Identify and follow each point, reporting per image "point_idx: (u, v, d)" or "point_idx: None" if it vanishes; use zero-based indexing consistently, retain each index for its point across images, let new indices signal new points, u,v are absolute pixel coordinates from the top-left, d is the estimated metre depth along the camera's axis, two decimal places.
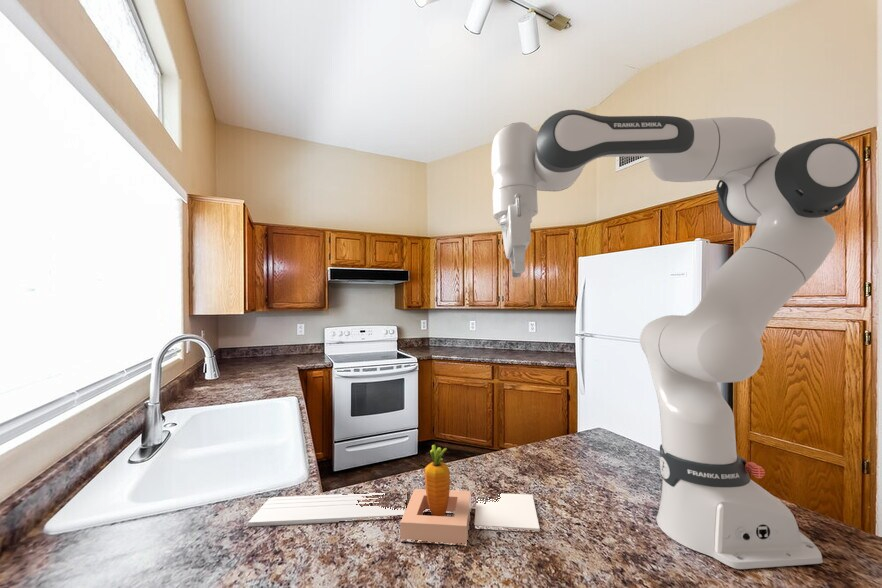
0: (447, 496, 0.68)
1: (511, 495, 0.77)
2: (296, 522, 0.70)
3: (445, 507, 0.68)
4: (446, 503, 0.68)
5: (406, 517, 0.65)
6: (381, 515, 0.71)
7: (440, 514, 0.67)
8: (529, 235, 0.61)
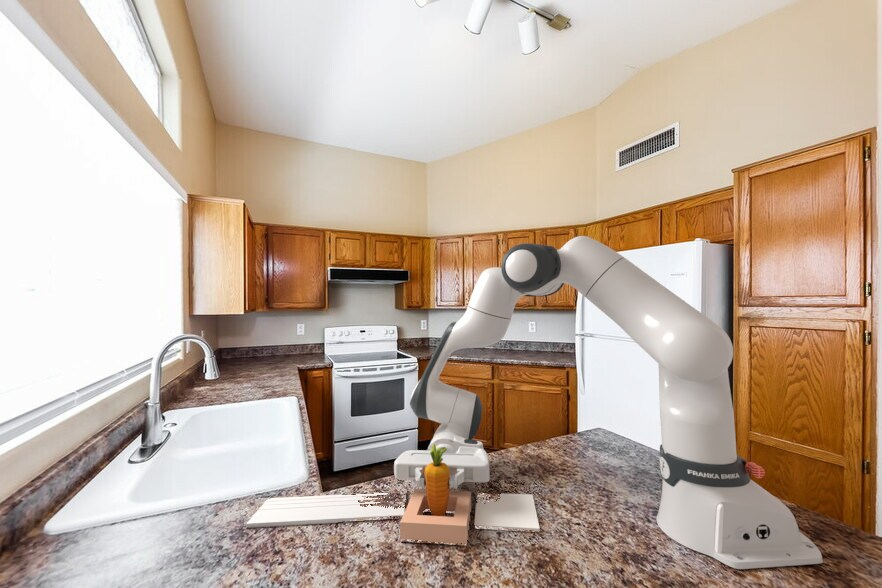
0: (447, 496, 0.68)
1: (511, 495, 0.77)
2: (295, 523, 0.70)
3: (445, 507, 0.68)
4: (446, 503, 0.68)
5: (406, 517, 0.65)
6: (380, 515, 0.70)
7: (440, 514, 0.67)
8: None
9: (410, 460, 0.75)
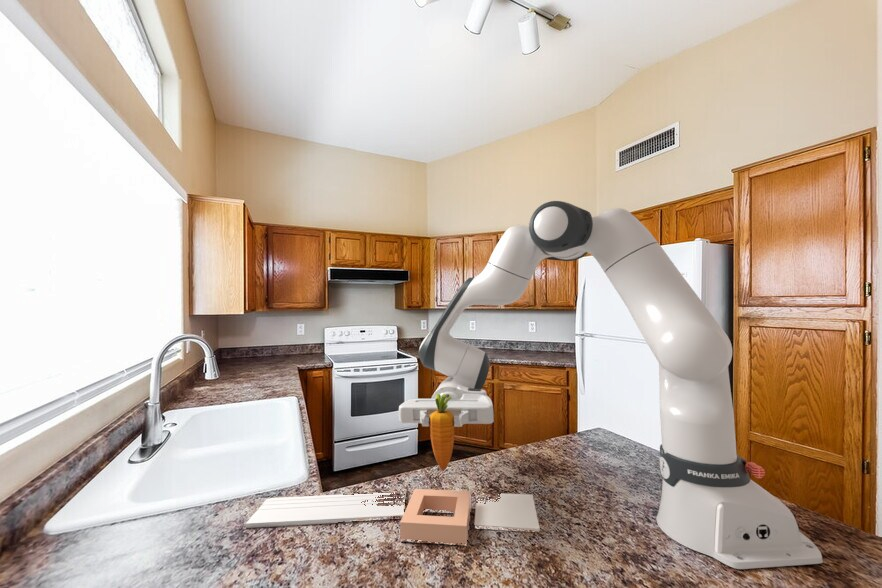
0: (452, 442, 0.68)
1: (511, 495, 0.77)
2: (294, 523, 0.69)
3: (450, 453, 0.68)
4: (451, 449, 0.68)
5: (406, 517, 0.65)
6: (380, 515, 0.70)
7: (445, 460, 0.68)
8: (399, 406, 0.76)
9: (415, 404, 0.75)
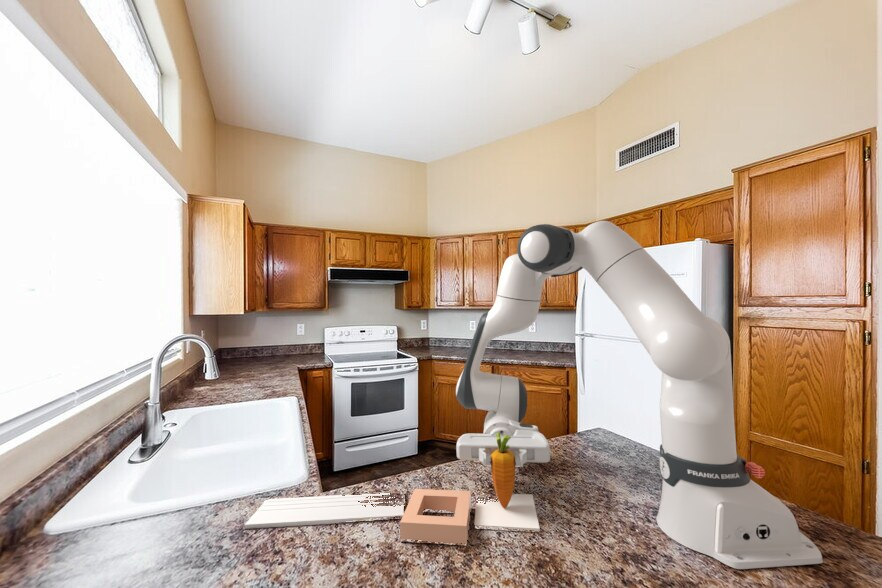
0: (513, 481, 0.71)
1: None
2: (293, 524, 0.69)
3: (511, 492, 0.71)
4: (512, 488, 0.71)
5: (406, 517, 0.65)
6: (379, 516, 0.70)
7: (507, 498, 0.71)
8: None
9: (472, 442, 0.78)
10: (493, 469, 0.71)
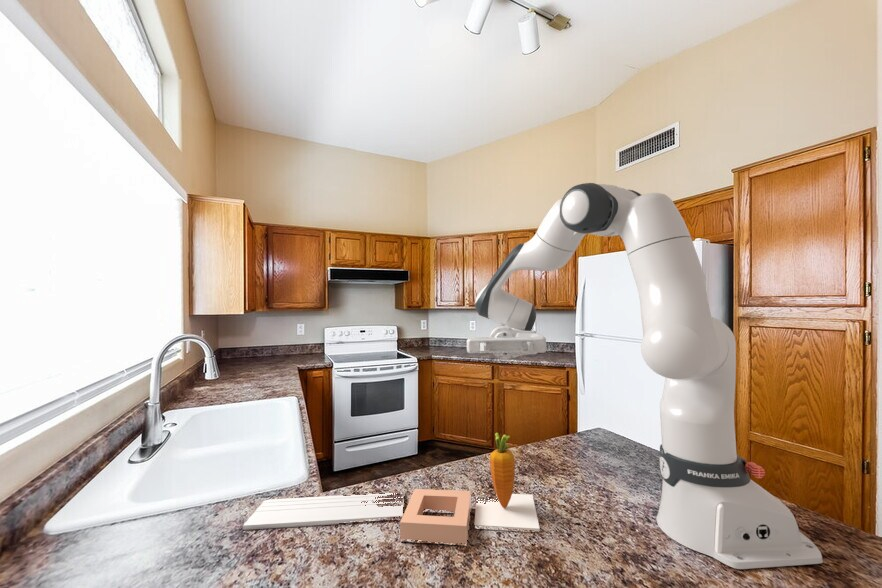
0: (513, 481, 0.71)
1: None
2: (292, 524, 0.69)
3: (511, 491, 0.71)
4: (512, 488, 0.71)
5: (406, 517, 0.65)
6: (378, 516, 0.70)
7: (507, 498, 0.71)
8: None
9: (480, 338, 0.92)
10: (492, 469, 0.71)
